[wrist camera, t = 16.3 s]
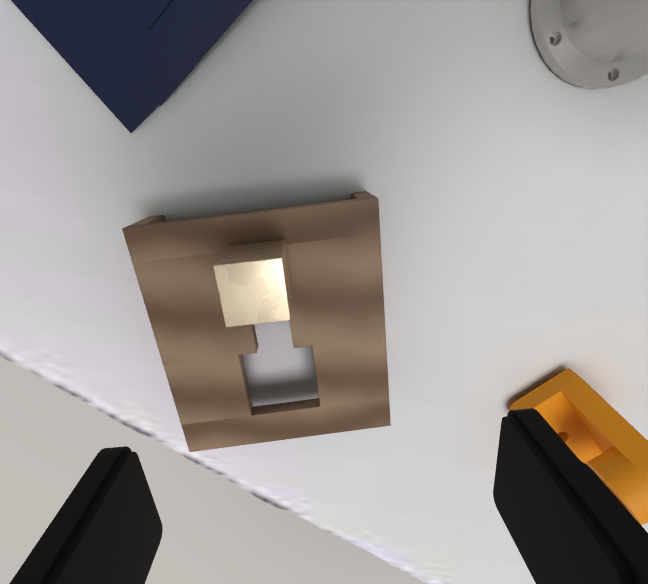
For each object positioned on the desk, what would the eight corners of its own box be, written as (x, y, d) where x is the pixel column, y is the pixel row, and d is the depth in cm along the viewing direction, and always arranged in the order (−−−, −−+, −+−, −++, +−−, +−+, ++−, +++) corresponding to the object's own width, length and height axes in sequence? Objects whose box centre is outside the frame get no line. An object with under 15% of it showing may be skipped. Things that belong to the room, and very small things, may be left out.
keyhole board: (149, 217, 31) (122, 228, 26) (366, 191, 31) (378, 198, 26) (203, 414, 38) (189, 452, 33) (379, 391, 38) (390, 425, 33)
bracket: (502, 402, 40) (582, 500, 29) (562, 363, 38) (671, 450, 27) (546, 460, 43) (633, 569, 32) (603, 426, 42) (714, 527, 31)
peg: (236, 228, 31) (209, 262, 22) (288, 223, 32) (284, 254, 22) (245, 277, 33) (223, 330, 23) (295, 272, 33) (293, 322, 23)
